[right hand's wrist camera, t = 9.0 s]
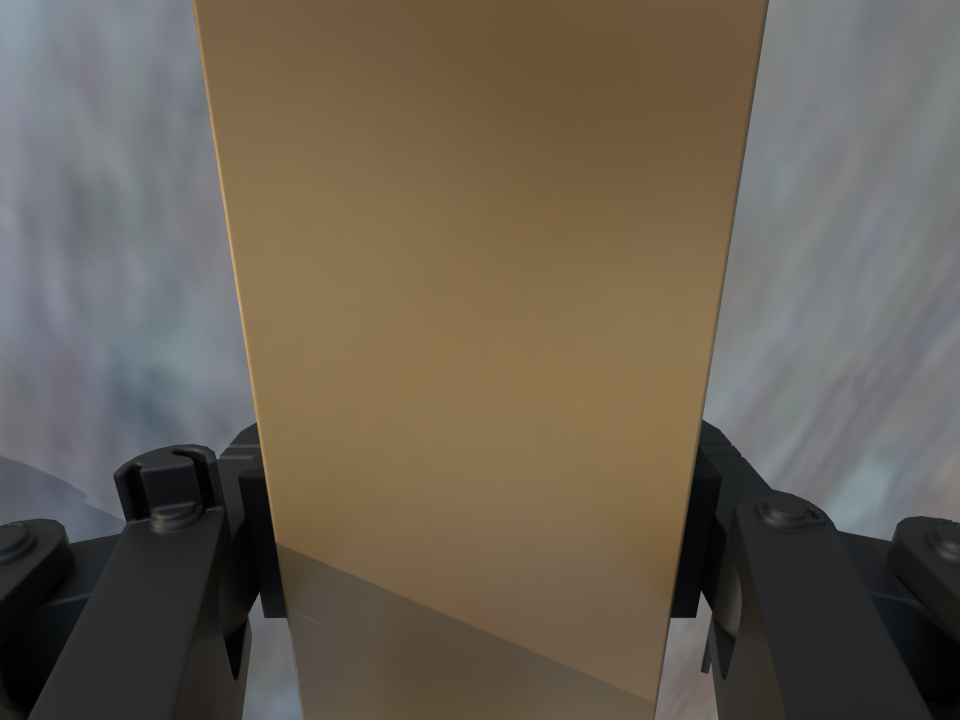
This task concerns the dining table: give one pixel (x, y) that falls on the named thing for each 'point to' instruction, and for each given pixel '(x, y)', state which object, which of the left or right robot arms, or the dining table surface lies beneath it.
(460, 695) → the bar
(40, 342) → the dining table surface
